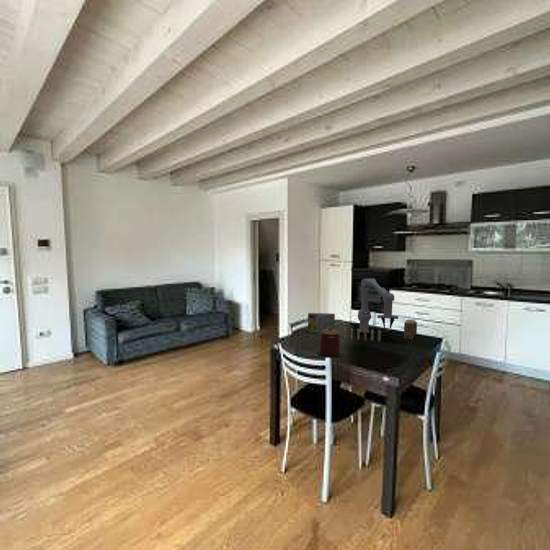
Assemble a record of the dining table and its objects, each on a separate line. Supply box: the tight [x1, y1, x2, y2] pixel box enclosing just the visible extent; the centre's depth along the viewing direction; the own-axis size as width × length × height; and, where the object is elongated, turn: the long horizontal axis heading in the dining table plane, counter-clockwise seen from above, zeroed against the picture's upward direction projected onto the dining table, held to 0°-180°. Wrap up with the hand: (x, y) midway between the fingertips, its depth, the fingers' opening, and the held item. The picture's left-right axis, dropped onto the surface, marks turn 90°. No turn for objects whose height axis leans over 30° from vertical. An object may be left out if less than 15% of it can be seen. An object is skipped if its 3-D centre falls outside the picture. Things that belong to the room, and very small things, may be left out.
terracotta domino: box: [363, 329, 367, 341], centre depth 249 cm, size 5×2×7 cm, turn 167°
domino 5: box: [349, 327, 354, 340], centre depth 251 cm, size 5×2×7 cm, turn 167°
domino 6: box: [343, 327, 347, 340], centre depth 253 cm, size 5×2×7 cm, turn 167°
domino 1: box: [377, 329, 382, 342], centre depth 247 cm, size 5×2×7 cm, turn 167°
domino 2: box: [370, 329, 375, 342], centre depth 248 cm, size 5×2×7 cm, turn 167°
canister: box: [319, 327, 341, 357], centre depth 216 cm, size 13×13×18 cm
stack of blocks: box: [403, 319, 418, 340], centre depth 260 cm, size 21×6×12 cm, turn 149°
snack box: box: [307, 312, 336, 334], centre depth 269 cm, size 21×6×15 cm, turn 84°
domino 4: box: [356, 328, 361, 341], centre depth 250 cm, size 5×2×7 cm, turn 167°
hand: (387, 328), depth 245 cm, fingers open, 4 cm apart
